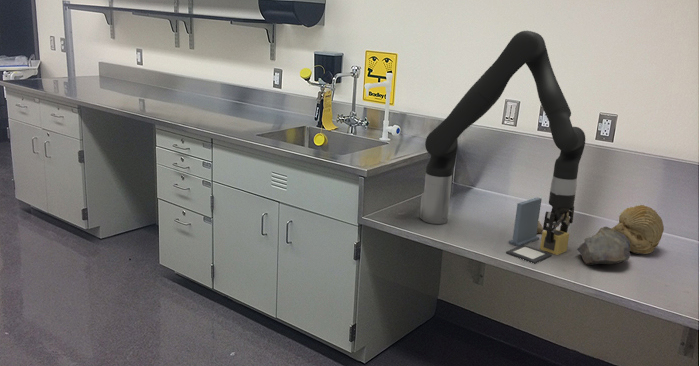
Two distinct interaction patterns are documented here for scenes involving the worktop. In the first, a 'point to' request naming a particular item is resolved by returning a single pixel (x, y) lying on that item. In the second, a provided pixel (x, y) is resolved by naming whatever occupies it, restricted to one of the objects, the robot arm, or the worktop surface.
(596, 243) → the stone
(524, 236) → the screen
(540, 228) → the rock
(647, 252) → the fossil
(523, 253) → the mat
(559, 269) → the worktop surface
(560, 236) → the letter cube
